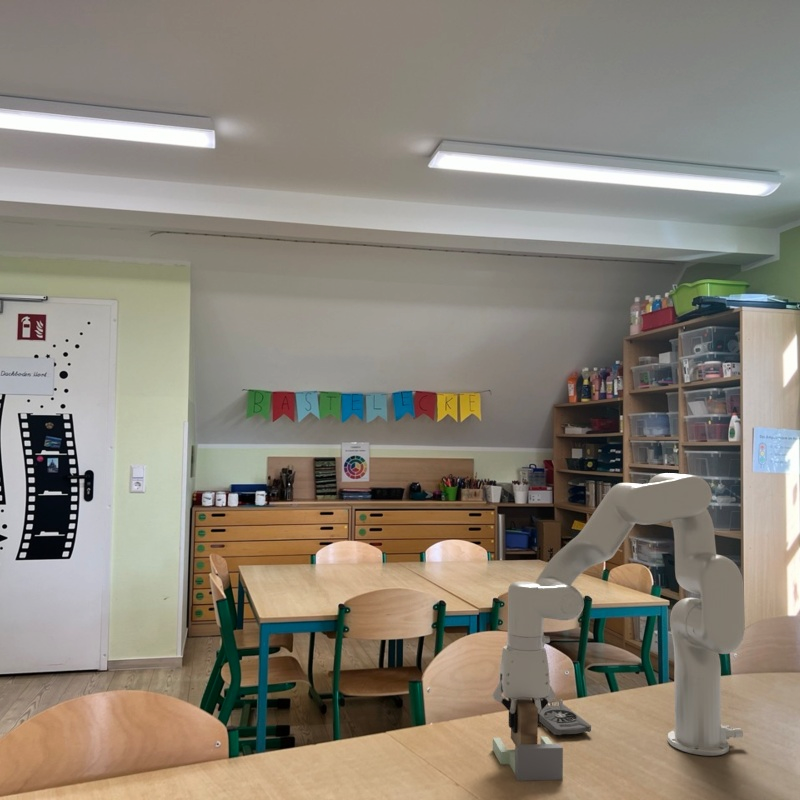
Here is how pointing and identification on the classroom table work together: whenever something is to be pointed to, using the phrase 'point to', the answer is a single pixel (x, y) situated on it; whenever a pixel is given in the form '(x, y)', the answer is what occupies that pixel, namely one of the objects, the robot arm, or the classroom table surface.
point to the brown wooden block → (526, 723)
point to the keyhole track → (532, 759)
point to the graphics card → (562, 719)
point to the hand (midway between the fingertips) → (523, 729)
